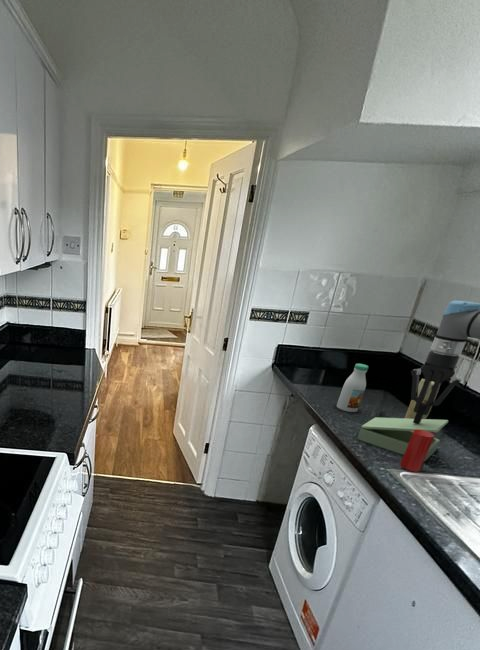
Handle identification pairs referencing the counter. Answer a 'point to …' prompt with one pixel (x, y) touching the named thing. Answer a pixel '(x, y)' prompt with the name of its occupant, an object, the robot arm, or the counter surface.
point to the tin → (417, 450)
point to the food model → (410, 411)
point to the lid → (405, 424)
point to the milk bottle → (353, 389)
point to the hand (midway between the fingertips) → (416, 422)
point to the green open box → (392, 440)
